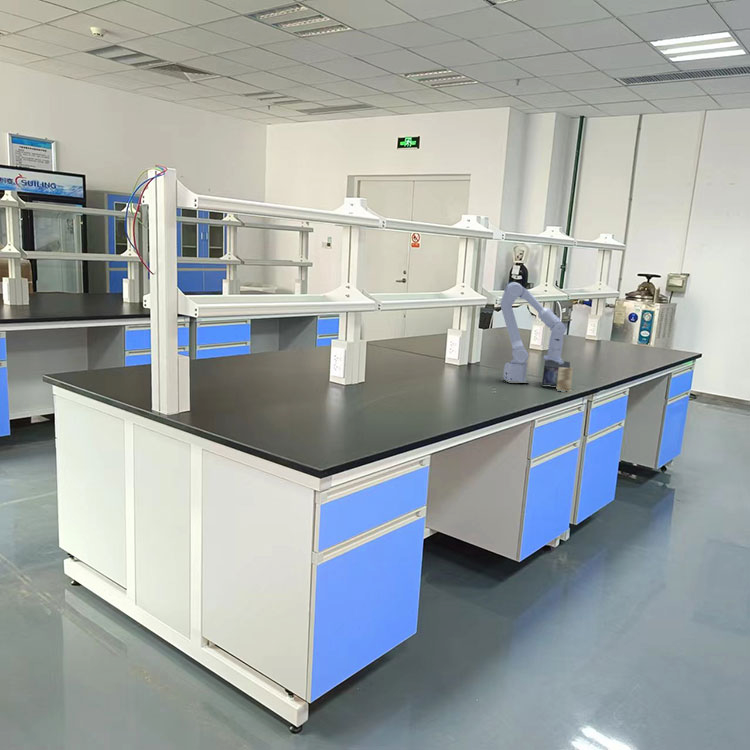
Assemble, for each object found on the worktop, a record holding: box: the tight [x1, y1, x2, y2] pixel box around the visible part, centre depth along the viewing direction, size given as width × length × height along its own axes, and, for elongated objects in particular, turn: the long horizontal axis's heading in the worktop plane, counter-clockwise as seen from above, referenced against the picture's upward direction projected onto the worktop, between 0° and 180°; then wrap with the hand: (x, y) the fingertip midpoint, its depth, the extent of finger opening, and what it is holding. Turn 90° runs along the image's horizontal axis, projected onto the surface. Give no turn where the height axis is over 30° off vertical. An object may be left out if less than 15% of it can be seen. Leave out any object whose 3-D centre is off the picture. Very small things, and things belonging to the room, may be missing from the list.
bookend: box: [555, 367, 574, 392], centre depth 274 cm, size 6×3×10 cm, turn 103°
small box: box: [541, 360, 571, 386], centre depth 281 cm, size 11×6×10 cm, turn 75°
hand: (550, 379), depth 287 cm, fingers closed, pressing on small box
